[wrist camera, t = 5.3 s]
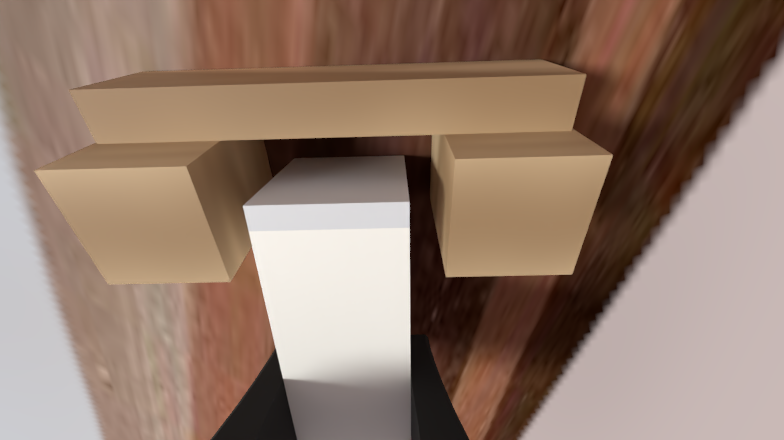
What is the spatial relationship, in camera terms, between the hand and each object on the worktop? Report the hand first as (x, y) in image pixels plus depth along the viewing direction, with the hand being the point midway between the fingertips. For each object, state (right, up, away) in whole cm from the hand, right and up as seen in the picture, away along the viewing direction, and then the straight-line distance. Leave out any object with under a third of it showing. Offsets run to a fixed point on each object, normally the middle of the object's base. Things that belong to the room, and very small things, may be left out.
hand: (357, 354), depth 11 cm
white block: (0, +2, +1) cm, 3 cm away
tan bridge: (0, +7, -1) cm, 7 cm away
